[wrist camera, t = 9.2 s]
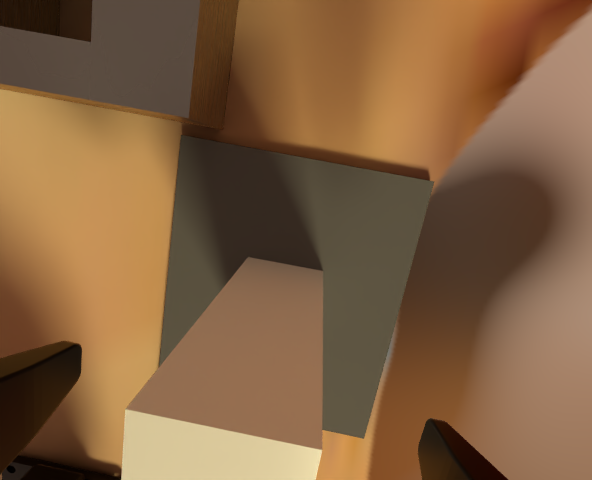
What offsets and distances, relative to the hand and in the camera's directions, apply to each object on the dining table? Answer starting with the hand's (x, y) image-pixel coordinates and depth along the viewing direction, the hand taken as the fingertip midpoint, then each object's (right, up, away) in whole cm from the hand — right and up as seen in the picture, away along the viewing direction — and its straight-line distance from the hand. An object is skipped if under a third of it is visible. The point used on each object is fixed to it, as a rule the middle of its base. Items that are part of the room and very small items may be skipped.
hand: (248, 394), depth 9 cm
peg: (0, +1, +6) cm, 6 cm away
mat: (+1, +1, +6) cm, 6 cm away
